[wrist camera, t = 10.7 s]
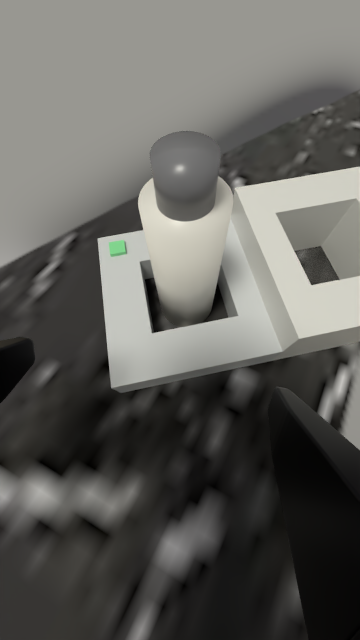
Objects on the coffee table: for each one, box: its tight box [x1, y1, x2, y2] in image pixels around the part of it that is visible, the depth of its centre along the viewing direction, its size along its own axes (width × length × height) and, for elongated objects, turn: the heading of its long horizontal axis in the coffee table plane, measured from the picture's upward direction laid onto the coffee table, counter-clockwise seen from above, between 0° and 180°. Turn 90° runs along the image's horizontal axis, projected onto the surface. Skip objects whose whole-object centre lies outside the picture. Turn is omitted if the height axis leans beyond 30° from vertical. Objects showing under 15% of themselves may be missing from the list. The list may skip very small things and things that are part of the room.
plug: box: [138, 131, 233, 327], centre depth 14 cm, size 4×4×12 cm
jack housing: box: [98, 167, 360, 393], centre depth 18 cm, size 12×22×5 cm, turn 102°
